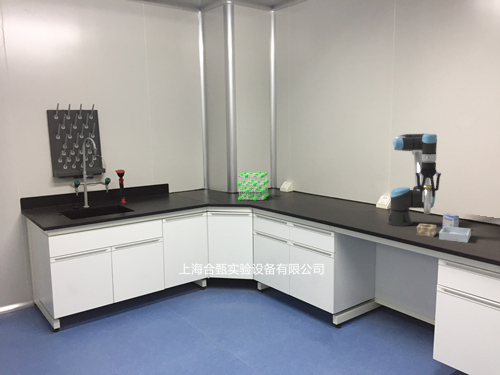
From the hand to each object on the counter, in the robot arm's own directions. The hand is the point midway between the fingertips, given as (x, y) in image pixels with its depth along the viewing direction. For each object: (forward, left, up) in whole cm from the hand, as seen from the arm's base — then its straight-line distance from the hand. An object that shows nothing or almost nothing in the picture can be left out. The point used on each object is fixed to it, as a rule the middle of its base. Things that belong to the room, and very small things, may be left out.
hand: (427, 201), depth 232 cm
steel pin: (0, 0, -7) cm, 7 cm away
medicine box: (+10, +20, -19) cm, 29 cm away
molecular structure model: (-160, +60, -19) cm, 172 cm away
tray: (+15, 0, -19) cm, 24 cm away
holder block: (0, 0, -19) cm, 19 cm away
